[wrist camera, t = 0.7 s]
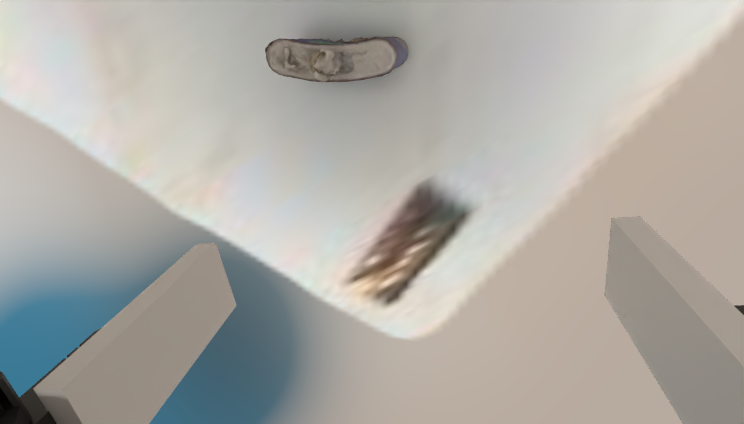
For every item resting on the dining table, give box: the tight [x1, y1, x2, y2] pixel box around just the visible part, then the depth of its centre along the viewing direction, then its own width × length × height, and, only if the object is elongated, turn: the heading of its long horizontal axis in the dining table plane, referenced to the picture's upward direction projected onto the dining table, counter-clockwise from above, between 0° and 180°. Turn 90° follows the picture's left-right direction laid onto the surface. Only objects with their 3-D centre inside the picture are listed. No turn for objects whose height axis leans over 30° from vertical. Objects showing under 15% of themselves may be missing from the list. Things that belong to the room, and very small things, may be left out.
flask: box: [265, 37, 408, 82], centre depth 30 cm, size 9×3×11 cm, turn 91°
